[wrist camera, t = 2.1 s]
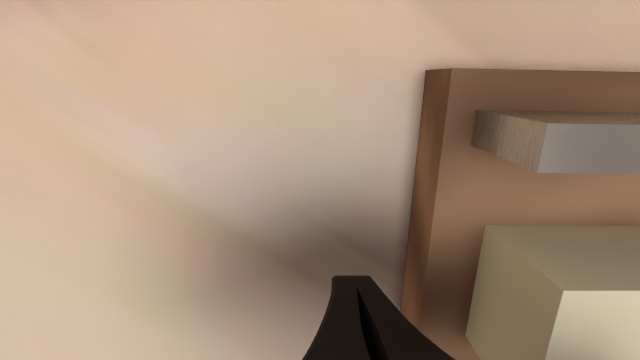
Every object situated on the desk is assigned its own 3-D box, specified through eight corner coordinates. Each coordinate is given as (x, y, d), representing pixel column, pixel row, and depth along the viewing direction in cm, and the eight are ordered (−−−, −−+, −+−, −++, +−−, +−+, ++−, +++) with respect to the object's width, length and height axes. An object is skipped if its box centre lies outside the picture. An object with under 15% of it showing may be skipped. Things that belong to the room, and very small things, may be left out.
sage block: (605, 334, 14) (716, 430, 10) (465, 335, 14) (525, 433, 10) (641, 226, 13) (786, 290, 9) (485, 225, 12) (563, 290, 9)
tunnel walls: (665, 408, 15) (764, 500, 12) (430, 411, 15) (464, 507, 12) (790, 115, 11) (987, 130, 8) (476, 110, 11) (548, 123, 8)
